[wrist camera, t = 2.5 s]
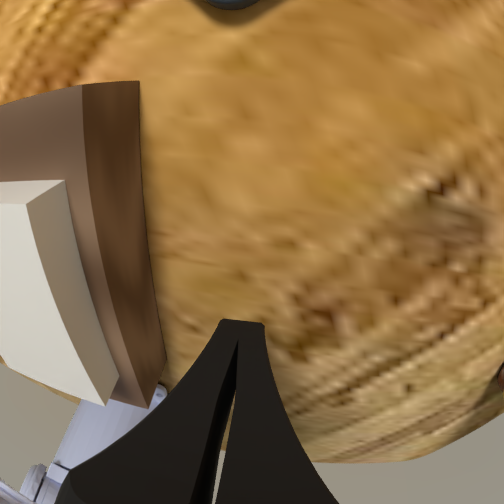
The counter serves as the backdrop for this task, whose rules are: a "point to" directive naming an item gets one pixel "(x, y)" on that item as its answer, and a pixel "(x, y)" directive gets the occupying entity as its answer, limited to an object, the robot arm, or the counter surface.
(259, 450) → the robot arm
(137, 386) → the block
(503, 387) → the sauce bottle
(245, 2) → the phone case
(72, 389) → the tile
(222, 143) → the counter surface
